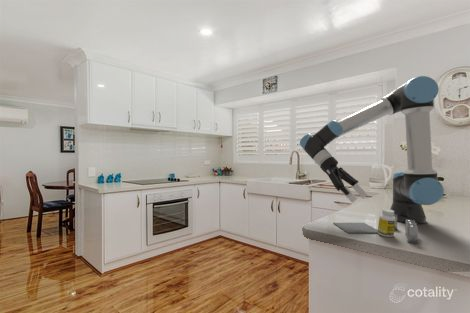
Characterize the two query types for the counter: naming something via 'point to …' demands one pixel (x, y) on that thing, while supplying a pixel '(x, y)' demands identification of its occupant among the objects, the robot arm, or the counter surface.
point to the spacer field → (409, 230)
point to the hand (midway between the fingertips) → (360, 198)
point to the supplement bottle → (386, 223)
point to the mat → (357, 228)
